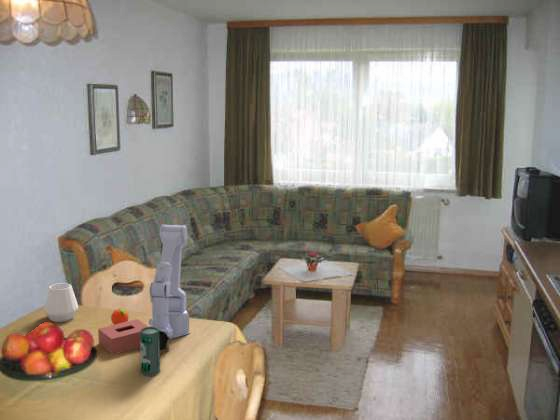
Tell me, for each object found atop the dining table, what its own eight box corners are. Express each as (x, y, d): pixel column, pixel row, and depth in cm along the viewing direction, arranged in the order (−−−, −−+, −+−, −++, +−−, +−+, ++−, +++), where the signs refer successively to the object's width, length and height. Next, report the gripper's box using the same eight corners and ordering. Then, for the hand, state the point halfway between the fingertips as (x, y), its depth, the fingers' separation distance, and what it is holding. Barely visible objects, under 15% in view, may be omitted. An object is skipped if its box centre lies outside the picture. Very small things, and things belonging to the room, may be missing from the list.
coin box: (137, 333, 224) (137, 319, 223) (152, 343, 215) (151, 328, 214) (98, 343, 214) (98, 328, 213) (112, 354, 205) (111, 339, 204)
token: (165, 349, 210) (165, 337, 209) (168, 351, 209) (168, 338, 208) (153, 353, 207) (153, 340, 206) (156, 355, 206) (156, 342, 205)
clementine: (134, 325, 232) (133, 309, 231) (121, 330, 226) (120, 314, 225) (120, 321, 236) (120, 304, 235) (107, 326, 231) (107, 309, 229)
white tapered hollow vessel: (71, 324, 232) (70, 291, 229) (39, 323, 232) (37, 290, 229) (83, 312, 245) (81, 281, 242) (52, 311, 245) (50, 280, 242)
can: (139, 369, 195) (139, 328, 192) (157, 366, 197) (156, 325, 194) (143, 377, 189) (142, 335, 186) (161, 374, 192) (160, 332, 189)
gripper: (141, 309, 208) (141, 344, 211) (160, 322, 197) (160, 358, 200) (158, 305, 212) (158, 339, 215) (177, 317, 202) (178, 352, 204)
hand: (161, 348), depth 208 cm, fingers closed on token, 2 cm apart
